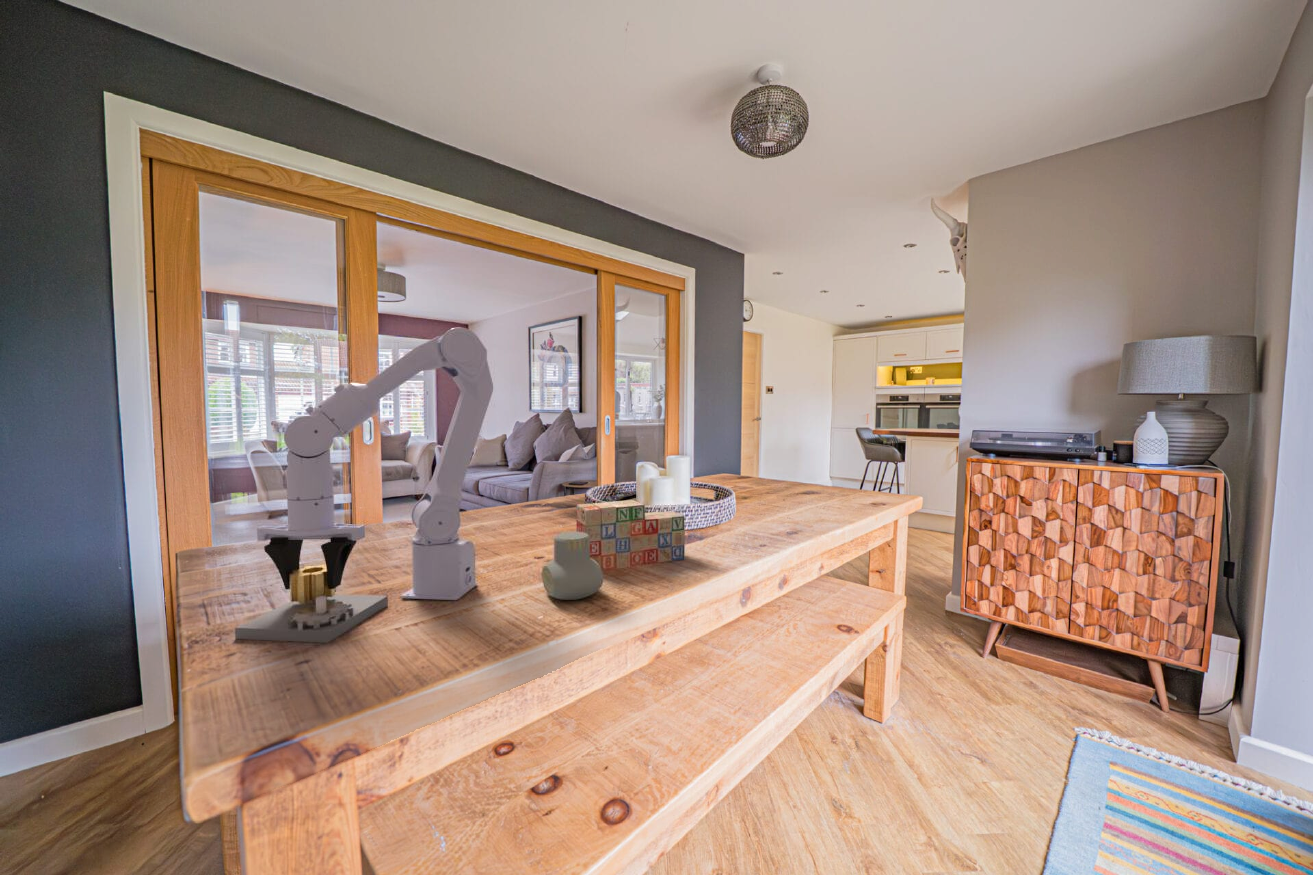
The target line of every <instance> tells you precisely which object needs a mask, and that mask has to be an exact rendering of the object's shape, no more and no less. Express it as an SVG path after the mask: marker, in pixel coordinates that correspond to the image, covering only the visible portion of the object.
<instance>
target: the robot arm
mask: <svg viewBox="0 0 1313 875" xmlns="http://www.w3.org/2000/svg"><path fill="white" fill-rule="evenodd" d="M439 368H441V369H442V370H444V371H445V372H446V373H447V374H448V375H449V376H451V378H452V379H453V382H454V384H455V385H456V386H457V387H458V389H459V391H460V392H459V393H460V394H459V397H458V399H457V403H456V405H455V407H454V408H455V409H454V412H453V415H452V417H451V421H450V424H449V426H448V429H447V432H446V435H445V438H444V441H443V444H442V448H441V450H440V452H439V456H438V459H437V463H436V465H435V468H434V471H433V474H432V477H431V479H430V481H429V483H428V484H427V485H426V487H425V490H424V493H423V495H422V497H421V498H420V499H419V500H417V502H416V503H415V504H414V505H413V507H412V510H411V514H410V516H411V521H412V523H413V525H414V526H415V527H416V528H417V530H416V533H415V534H414V536H412V538H411V548H412V549H411V552H412V553H411V556H412V560H411V562H412V565H411V566H412V587H411V589H409V590H407V591H406V592H403V593H402V594H401V596H400V597H401V598H402V599H413V600H415V599H416V600H417V599H418V600H443V601H457V600H459V599H460V598H462V597H463V596H464V595H465V594H467V593H468V592H469V591H470V590H472V589H473V588H474V587H475V586H477V585H478V581H476V578H477V577H476V548H475V545H474V543H473V541H472V540H467V539H462V538H461V537H459V536H460V534H459V533H458V531H459V529H460V527H461V515H460V507H461V504H462V498H463V496H462V495H463V493H462V492H463V491H462V490H463V483H464V481H465V478H466V475H467V472H468V469H469V466H470V463H471V459H472V456H473V453H474V450H475V446H476V444H477V441H478V438H479V435H480V432H481V428H482V426H483V422H484V420H485V416H486V413H487V411H488V408H489V405H490V402H491V398H492V395H493V392H494V383H493V379H492V375H491V372H490V371H491V370H490V367H489V363H488V350H487V348H486V346H485V345H484V344H483V342H482V341H481V340H480V338H479V337H478V335H477V334H476V333H475V332H474V331H472V330H470V329H469V328H467V327H453V328H451V329H449V330H447V331H446V332H445V333H444V334H442V335H438V336H436V337H434V338H432V339H430V340H427V341H425V342H423V343H422V344H420V345H418V346H415V347H414V348H413V349H411V350H409V351H408V352H407V353H406V354H405V355H403V356H402V357H400V358H399V359H397V361H395V362H393V363H392V364H391V365H389V366H388V367H386V368H385V369H383V371H381V372H380V373H379V374H377V375H375V376H374V377H373V378H371V379H370V380H369V381H367V382H366V383H357V382H350V383H348V384H346V385H345V386H344V385H343V384H338V385H337V386H336V387H335V388H334V389H333V391H334V392H335V393H333V394H332V395H330V396H328V397H327V398H326V399H325V400H323V401H321V402H320V403H318V404H317V405H315V406H314V407H313V406H312V405H309V406H308V407H306V408H305V409H304V410H305V412H306V413H307V414H308V415H301V416H298V417H296V418H294V419H293V421H292V422H290V423H289V424H288V426H287V427H286V429H285V431H284V435H283V441H284V444H285V446H286V447H287V449H289V450H288V451H287V454H286V462H287V467H286V471H285V472H286V499H287V523H286V524H272V525H271V524H269V525H267V524H266V525H263V526H259V527H257V528H256V539H257V542H265V541H268V540H269V544H265V545H264V546H263V549H264V552H265V553H266V554H267V555H268V556H269V558H270V559H271V560H272V562H273V564H274V566H275V567H276V569H277V570H278V571H277V572H279V575H280V577H281V580H282V582H283V586H284V589H285V590H290V579H289V574H291V571H293V570H295V569H301V568H300V560H301V551H302V548H303V547H302V546H303V542H304V540H305V541H306V540H308V541H309V540H330V541H328V542H325V543H323V544H320V549H321V551H322V554H323V557H324V560H325V564H326V568H327V585H328V589H334V588H336V589H337V588H338V587H339V586H342V578H343V574H344V571H345V567H346V565H347V562H348V559H349V557H350V555H351V554H352V550H353V549H354V547H355V546H356V543H357V541H360V540H362V539H364V538H365V537H366V525H365V524H352V523H351V524H350V523H341V522H335V497H334V494H335V493H334V467H333V465H332V463H331V447H332V446H333V443H334V439H335V438H344V437H345V436H346V435H347V434H349V433H351V432H353V430H354V429H356V428H358V427H359V426H360V425H362V424H363V423H364V422H366V421H367V420H369V419H370V418H371V417H373V416H374V415H376V414H377V413H378V412H379V405H380V404H379V403H380V400H381V399H382V398H384V397H385V396H386V395H389V394H390V393H391V392H392V391H394V390H395V389H397V388H399V387H400V386H401V385H403V384H405V383H406V382H407V381H409V380H411V379H412V378H414V377H415V376H416V375H418V374H419V373H421V372H425V371H432V370H437V369H439Z"/></svg>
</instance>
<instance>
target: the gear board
mask: <svg viewBox="0 0 1313 875" xmlns="http://www.w3.org/2000/svg"><path fill="white" fill-rule="evenodd" d="M338 601H340V602H343V604H347V603H351V604H352V607H353V615H350V616H349V619H348V620H346V621H340V622H337V625H334V626H330V625H328V626H324V627H321V628H320V629H317V630H314V628H310V629H305V630H303V631H299V630H298V628H297V627H296V628H292V629H290V628H289V624H288V618H287V617H288V616H289V615H294V611H296V610H303V609H305V608H307V606H310V605H313V606H316V613H324V612H326V602H328V603H336V602H338ZM387 606H389V597H388V595H372V594H349V593H348V594H347V593H335V595H334V596H333V597H327V598H326V596H320V597H317V598H316V601H313V602H312V601H310V602H306V603H300V604H299V601H298V602H296V601H295V602H291V601H288V602H287V603H285V604H283V605H281V606H278V607H276V608H274V609H272V610H270V611H268V612H266V613H263V614H261V615H259V616H257V617H254V618H253V619H250V620H249V621H247V622H245V623H242V624H240V625H238V626H236V627H235V628H234V634H235V635H234V637H235V640H255V641H258V640H259V641H274V642H275V641H279V642H296V643H297V642H299V643H323V644H327V643H330V642H331V641H334V639H337V638H339V636H342V634H344V633H346V632H347V631H349V630H351V629H352V628H354V627H355V626H358V625H359V624H361V623H362V622H364V621H365V620H367V619H368V618H370V617H371V616H373V615H374V614H376V613H378V612H380V611H381V610H382V609H384V608H386V607H387Z"/></svg>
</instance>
